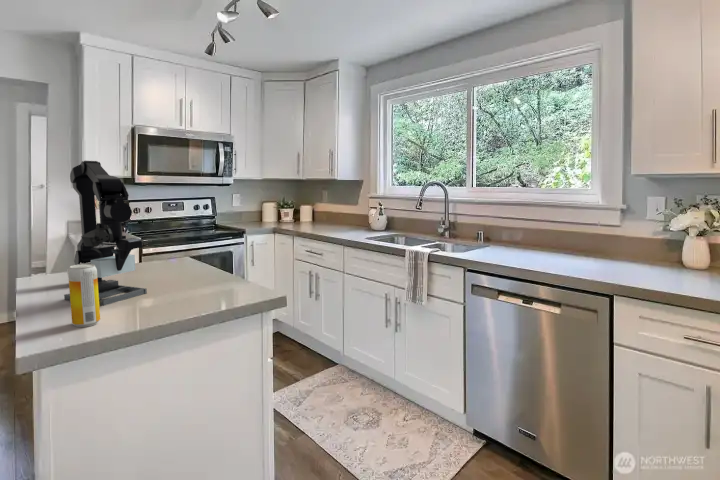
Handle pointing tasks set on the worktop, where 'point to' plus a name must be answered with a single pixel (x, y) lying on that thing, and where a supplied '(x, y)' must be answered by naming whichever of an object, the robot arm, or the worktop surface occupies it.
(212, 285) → the worktop surface
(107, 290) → the rack
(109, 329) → the worktop surface
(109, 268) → the panel
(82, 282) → the beer can
